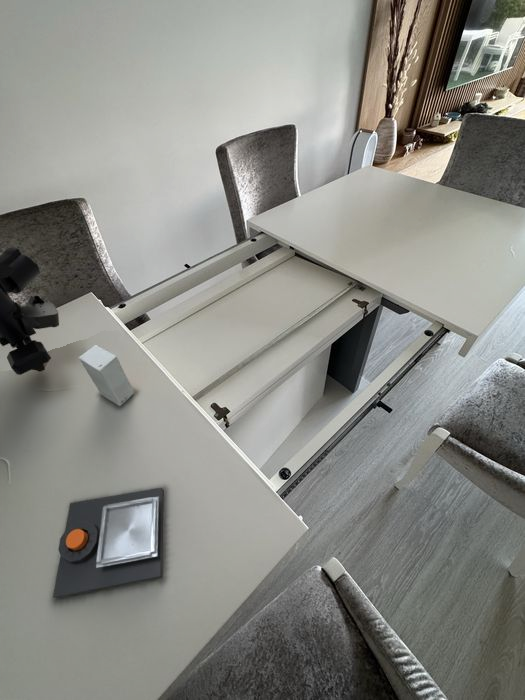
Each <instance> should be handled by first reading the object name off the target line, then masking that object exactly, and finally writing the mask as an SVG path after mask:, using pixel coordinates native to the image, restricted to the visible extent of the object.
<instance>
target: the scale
mask: <svg viewBox="0 0 525 700" xmlns="http://www.w3.org/2000/svg"><path fill="white" fill-rule="evenodd" d="M164 496H165V490H164V488H163V487H156V488H150V489H145V490H139V491H133V492H128V493H122V494H116V495H115V494H114V495H110V496H105V497H104V496H103V497H98V498H93V499H86V500H79V501H73V502H70V503H69V507H68V508H69V509H68V512H67V518H66V523H65V529H64V532H63V534H62V535H61V537H60V539H59V544H58V549H57V550H58V552H59V555H60V557H59V562H58V567H57V573H56V578H55V584H54V589H53V595H52V598H53V599H61V598H62V599H63V598H66V597H67V598H68V597H72V596H77V595H78V596H79V595H82V594H88V593H92V592H98V591H102V590H108V589H112V588H117V587H122V586H123V587H124V586H127V585H128V586H129V585H133V584H138V583H143V582H148V581H154V580H158V579H162V578H163V573H164V571H163V569H164V558H163V557H164V500H165V499H164ZM150 497H152V498H153V497H159V518H158V557H154V558H149V559H144V560H139V561H133V562H128V563H123V564H118V565H112V566H107V567H102V568H96V565H97V563H96V559H97V551H98V543H99V535H100V527H101V518H102V510H103V507H104V506H106V505H109V504H115V503H121V502H126V501H132V500H138V499H144V498H150ZM76 529H81V530H82V531H84V532H85V533H87V535H88V541H87V543H86V545H85V546H84V547H83V548H82V549H80V550H72V549H70V548H69V547H67V545H66V538H67V536H68V535H69V533H70V532H72V531H73V530H76Z"/></svg>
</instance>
